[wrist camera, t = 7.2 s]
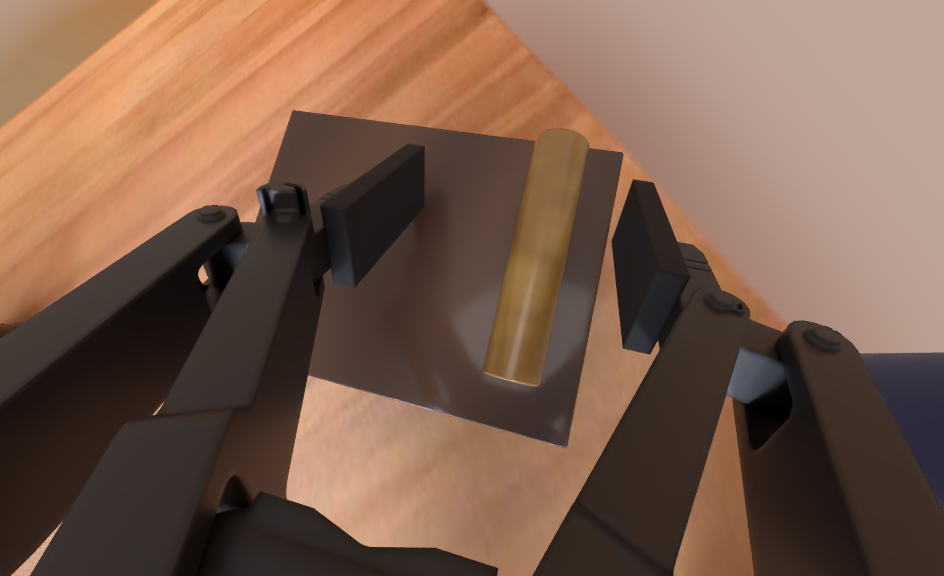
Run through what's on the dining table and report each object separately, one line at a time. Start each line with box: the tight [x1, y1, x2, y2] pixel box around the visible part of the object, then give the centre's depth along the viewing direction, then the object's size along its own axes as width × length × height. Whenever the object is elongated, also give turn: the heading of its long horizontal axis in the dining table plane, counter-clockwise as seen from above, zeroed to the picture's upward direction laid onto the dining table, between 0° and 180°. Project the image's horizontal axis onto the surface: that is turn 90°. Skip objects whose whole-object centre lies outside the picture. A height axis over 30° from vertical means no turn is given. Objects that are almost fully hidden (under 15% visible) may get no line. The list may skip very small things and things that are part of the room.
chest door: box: [255, 110, 623, 448], centre depth 15 cm, size 17×13×6 cm
